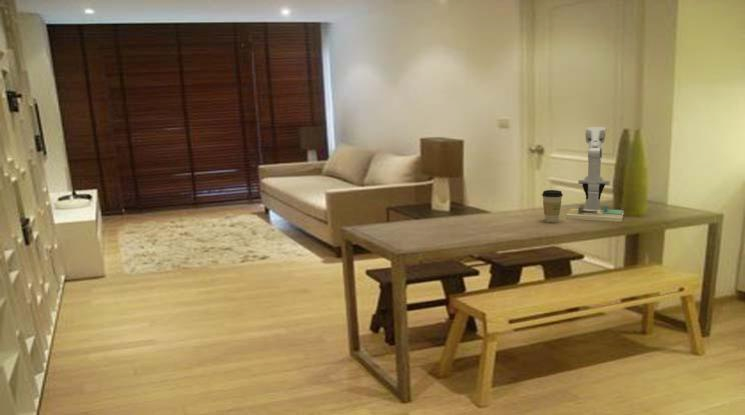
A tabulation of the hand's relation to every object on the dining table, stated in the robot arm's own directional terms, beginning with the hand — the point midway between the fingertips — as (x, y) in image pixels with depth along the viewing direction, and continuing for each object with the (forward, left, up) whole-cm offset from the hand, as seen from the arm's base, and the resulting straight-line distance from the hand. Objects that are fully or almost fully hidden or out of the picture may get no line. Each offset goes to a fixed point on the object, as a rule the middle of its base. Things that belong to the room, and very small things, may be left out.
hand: (593, 198), depth 306 cm
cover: (-2, +9, -8) cm, 12 cm away
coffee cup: (+13, -18, -10) cm, 24 cm away
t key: (-4, -3, -8) cm, 9 cm away
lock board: (-3, +1, -10) cm, 11 cm away
